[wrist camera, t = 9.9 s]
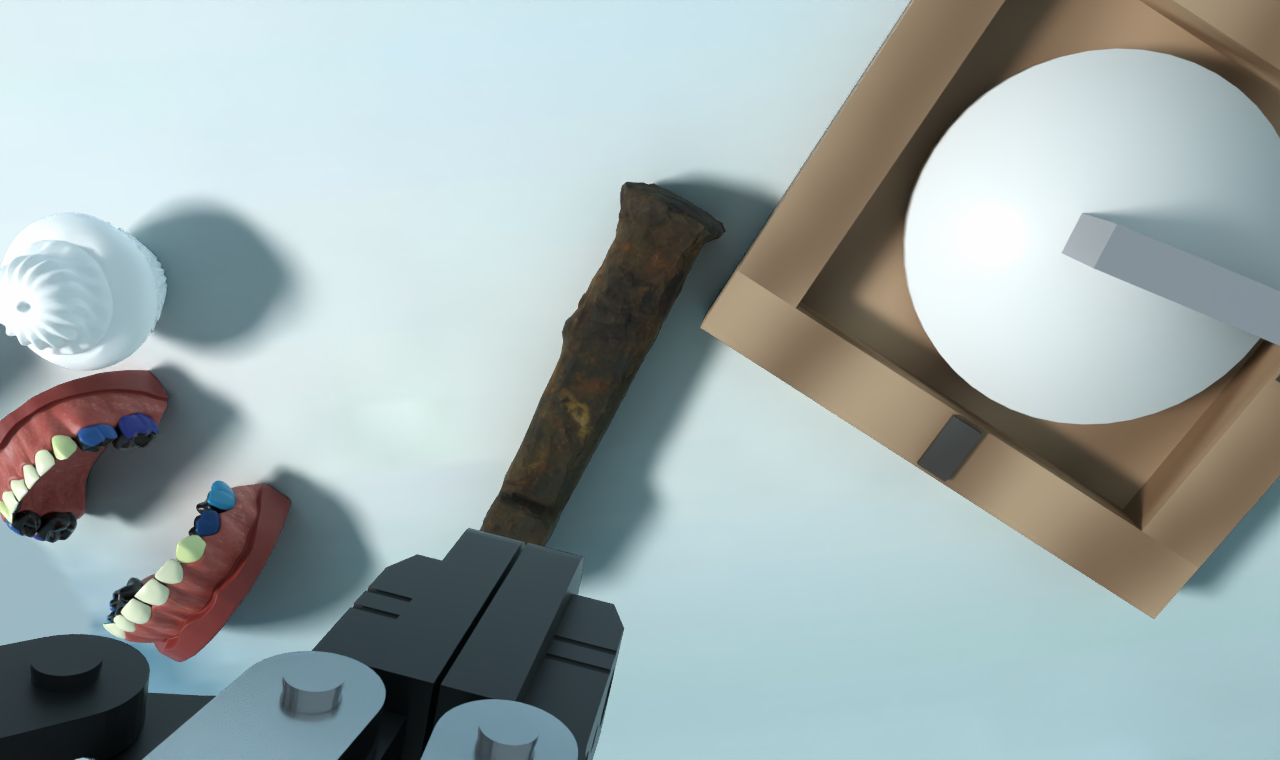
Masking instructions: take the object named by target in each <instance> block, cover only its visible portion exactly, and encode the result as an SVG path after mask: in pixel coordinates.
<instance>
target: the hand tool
mask: <svg viewBox="0 0 1280 760" xmlns="http://www.w3.org/2000/svg"><path fill="white" fill-rule="evenodd" d="M620 203H621V210H620V213H619V222H618V225H617V229H616V238H615V240H614V242H613V243H612V245H611V247H610V249H609V250H608V253H607V255H606V258H605V260H604V262H603V264H602V266H601V267H600V268H599V270H598V272H597V273H596V275H595V276H594V278H593V279H592V281H591V283H590V286H589V288H588V290H587V292H586V293H585V294H583V296H582V298H581V300H580V301H579V304H578V309H577V310H576V311H575V312H574V314H573V315H572V316H571V317H570V318H569V319H567V320H566V322H565V325H564V328H563V331H562V335H563V346H562V352H561V356H560V358H559V361H558V363H557V366H556V368H555V370H554V372H553V374H552V376H551V378H550V380H549V383H548V385H547V387H546V389H545V391H544V393H543V395H542V397H541V399H540V402H539V404H538V407H537V409H536V412H535V414H534V416H533V419H532V421H531V424H530V426H529V428H528V430H527V433H526V435H525V437H524V440H523V442H522V444H521V446H520V448H519V450H518V452H517V454H516V456H515V458H514V460H513V462H512V463H511V465H510V467H509V469H508V471H507V473H506V475H505V478H504V482H503V485H502V488H501V490H500V492H499V495H498V496H497V497H496V499H495V500H494V502H493V504H492V505H491V507H490V509H489V511H488V512H487V515H486V517H485V518H484V521H483V525H482V527H481V529H480V531H483V532H487V533H490V534H494V535H498V536H502V537H506V538H510V539H514V540H518V541H522V542H525V546H526V545H527V544H528V543H531V544H535V545H539V546H543V547H545V545H546V543H547V542H548V540H549V538H550V537H551V535H552V533H553V531H554V528H555V526H556V524H557V522H558V520H559V518H560V515H561V513H562V510H563V508H564V507H565V505H566V503H567V501H568V500H569V498H570V496H571V494H572V492H573V491H574V489H575V487H576V485H577V483H578V481H579V479H580V477H581V475H582V474H583V472H584V470H585V468H586V466H587V465H588V463H589V461H590V459H591V457H592V455H593V453H594V451H595V449H596V448H597V446H598V444H599V442H600V441H601V439H602V437H603V435H604V434H605V432H606V430H607V428H608V426H609V424H610V422H611V420H612V419H613V417H614V415H615V413H616V411H617V409H618V407H619V405H620V403H621V401H622V400H623V398H624V396H625V395H626V393H627V390H628V388H629V386H630V384H631V382H632V381H633V379H634V377H635V375H636V373H637V371H638V369H639V367H640V365H641V363H642V362H643V361H644V357H645V356H646V354H647V352H648V351H649V349H650V348H651V346H652V345H653V343H654V341H655V340H656V338H657V335H658V333H659V331H660V329H661V326H662V324H663V322H664V320H665V319H666V317H667V315H668V313H669V311H670V309H671V307H672V305H673V303H674V301H675V300H676V299H677V297H678V295H679V293H680V291H681V289H682V286H683V284H684V282H685V279H686V277H687V274H688V272H689V270H690V268H691V266H692V264H693V262H694V260H695V258H696V256H697V255H698V253H699V251H700V249H701V248H702V247H703V245H704V244H705V243H707V242H709V241H712V240H715V239H718V238H719V237H721V236H722V235H723V233H724V232H725V229H724V227H723V224H722V223H721V222H719V221H717V220H715V219H714V218H713V217H712V216H710V215H709V214H708V213H707V212H705V211H703V210H702V209H700V208H698V207H697V206H695V205H693V204H692V203H691V202H689V201H687V200H685V199H683V198H681V197H679V196H678V195H676V194H674V193H672V192H670V191H668V190H665V189H663V188H661V187H659V186H657V185H655V184H649V185H648V184H645V183H633V182H626V183H625V184H624V185H622V188H621V193H620Z"/></svg>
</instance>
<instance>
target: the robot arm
mask: <svg viewBox="0 0 1280 760" xmlns="http://www.w3.org/2000/svg"><path fill="white" fill-rule="evenodd" d="M583 565H584V557H583V556H579V555H575V554H571V553H567V552H563V551H559V550H555V549H551V548H547V547H543V546H539V545H535V544H531V543H528V544H527V545H526V546H525V542H522V541H518V540H514V539H510V538H506V537H502V536H498V535H494V534H490V533H487V532H483V531H479V530H475V529H471V528H468V529H467V530H466V531H465V532H464V533H463V535H462V536H461V537H460V539H459V540H458V541H457V542H456V544H455V545H454V546H453V548H452V549H451V550H450V551H449V553H448V554H447V555H446V557H445V558H444V559H443V560H442V561H441V560H437V559H433V558H429V557H425V556H421V555H415V556H413V557H410V558H408V559H405V560H403V561H401V562H398V563H396V564H393V565H391V566H389V567H386V568H385V569H384V571H383V572H382V573H381V574H380V575H379V576H378V577H377V578H376V580H375V581H374V582H373V583H372V584H371V585H370V586H369V588H368V591H365V592H364V593H363V594H362V595H361V596H360V597H359V598H358V600H357V601H356V602H355V603H354V606H353V608H351V607H350V609H349V610H348V611H347V612H346V613H345V614H344V615H343V616H342V617H341V619H340V620H339V621H338V622H337V623H336V624H335V625H334V626H333V628H332V629H331V630H330V631H329V632H328V633H327V634H326V635H325V636H324V638H323V639H322V640H321V641H320V642H319V643H318V644H317V645H316V646H315V648H314V649H313V650H312V651H298V652H290V653H284V654H280V655H275V656H272V657H269V658H267V659H264V660H262V661H260V662H258V663H256V664H254V665H253V666H252V667H250V668H249V669H247V670H246V671H245V672H244V673H243V674H242V675H240V676H239V677H238V678H237V679H236V680H235V681H233V682H232V683H231V684H230V685H229V686H228V687H226V688H225V689H224V690H223V691H222V692H221V693H219V694H218V695H217V696H198V695H180V694H162V693H148V683H149V673H150V669H149V664H148V662H147V660H146V658H145V657H144V656H143V655H142V654H141V653H140V652H139V651H138V650H137V649H135V648H134V647H132V646H130V645H128V644H126V643H124V642H122V641H118V640H115V639H112V638H107V637H102V636H96V635H85V634H80V635H79V634H69V635H56V636H50V637H43V638H38V639H33V640H28V641H22V642H18V643H12V644H7V645H2V646H0V760H593V756H594V753H595V750H596V746H597V743H598V740H599V736H600V733H601V728H602V724H603V719H604V715H605V711H606V706H607V702H608V697H609V693H610V688H611V684H612V680H613V675H614V671H615V666H616V662H617V657H618V653H619V649H620V644H621V640H622V635H623V631H624V627H623V624H622V622H621V620H620V617H619V615H618V613H617V610H616V608H615V606H614V604H610V603H607V602H603V601H599V600H595V599H591V598H587V597H583V596H579V595H578V591H579V586H580V582H581V577H582V571H583Z"/></svg>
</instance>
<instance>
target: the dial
mask: <svg viewBox="0 0 1280 760" xmlns="http://www.w3.org/2000/svg"><path fill="white" fill-rule="evenodd" d="M902 259H903V268H904V274H905V281H906V286H907V289H908V293H909V296H910V299H911V303H912V306H913V308H914V310H915V312H916V315H917V317H918V319H919V321H920V323H921V326H922V327H923V329H924V330H925V332H926V334H927V335H928V337H929V338H930V340H931V341H932V343H933V345H934V346H935V348H936V349H937V351H938V352H939V353H940V355H941V356H942V357H943V358H944V359H945V361H946V362H947V363H948V364H949V365H950V366H951V368H952V369H953V370H954V371H955V372H956V373H957V374H958V375H960V376H961V377H962V378H963V379H964V380H965V381H966V382H967V383H968V384H970V385H971V386H972V387H974V388H975V389H976V390H978V391H979V392H981V393H982V394H984V395H985V396H987V397H988V398H990V399H991V400H993V401H995V402H997V403H999V404H1001V405H1003V406H1005V407H1007V408H1009V409H1011V410H1014V411H1017V412H1020V413H1023V414H1026V415H1029V416H1032V417H1035V418H1039V419H1044V420H1049V421H1054V422H1059V423H1071V424H1107V423H1114V422H1120V421H1127V420H1133V419H1136V418H1140V417H1143V416H1147V415H1151V414H1154V413H1157V412H1160V411H1162V410H1165V409H1167V408H1169V407H1172V406H1174V405H1177V404H1179V403H1181V402H1183V401H1185V400H1187V399H1189V398H1190V397H1192V396H1194V395H1196V394H1198V393H1199V392H1201V391H1203V390H1204V389H1206V388H1207V387H1209V386H1210V385H1211V384H1213V383H1214V382H1216V381H1217V380H1218V379H1220V378H1221V377H1223V376H1224V375H1225V374H1226V373H1227V372H1228V371H1229V370H1230V369H1232V368H1233V367H1234V366H1235V365H1236V364H1237V363H1238V362H1239V361H1240V360H1242V359H1243V358H1244V356H1245V355H1246V354H1247V353H1248V352H1249V351H1250V349H1251V348H1252V347H1253V346H1254V345H1255V344H1256V343H1257V341H1258V340H1259V339H1260V338H1262V339H1265V340H1267V341H1269V342H1272V343H1274V344H1277V345H1279V346H1280V138H1279V136H1278V135H1277V133H1276V131H1275V129H1274V128H1273V126H1272V124H1271V123H1270V122H1269V121H1268V119H1267V118H1266V117H1265V116H1264V114H1263V113H1262V112H1261V111H1260V109H1259V108H1258V107H1257V106H1256V105H1255V104H1254V103H1253V102H1252V101H1251V100H1250V99H1249V98H1248V97H1247V96H1246V95H1245V94H1244V93H1242V92H1241V91H1240V90H1239V89H1238V88H1237V87H1235V86H1234V85H1232V84H1231V83H1229V82H1228V81H1227V80H1225V79H1224V78H1222V77H1221V76H1219V75H1218V74H1216V73H1214V72H1212V71H1210V70H1208V69H1206V68H1204V67H1202V66H1200V65H1198V64H1196V63H1194V62H1191V61H1188V60H1185V59H1182V58H1178V57H1175V56H1172V55H1169V54H1164V53H1158V52H1153V51H1147V50H1138V49H1117V48H1116V49H1104V50H1092V51H1086V52H1081V53H1077V54H1072V55H1067V56H1063V57H1058V58H1054V59H1051V60H1048V61H1045V62H1042V63H1039V64H1036V65H1034V66H1031V67H1028V68H1026V69H1024V70H1022V71H1020V72H1018V73H1016V74H1014V75H1012V76H1010V77H1007V78H1005V79H1004V80H1002V81H1001V82H999V83H998V84H996V85H994V86H993V87H991V88H990V89H988V90H987V91H985V92H984V93H982V94H981V95H980V96H979V97H978V98H976V99H975V100H974V101H973V102H972V103H971V104H969V105H968V106H967V107H966V108H965V109H963V110H962V112H961V113H960V114H959V115H958V116H957V117H956V118H955V119H954V120H953V121H952V122H951V123H950V124H949V126H948V127H947V128H946V129H945V130H944V132H943V133H942V134H941V136H940V137H939V139H938V140H937V141H936V143H935V144H934V146H933V147H932V148H931V150H930V152H929V154H928V155H927V157H926V159H925V161H924V163H923V165H922V166H921V168H920V170H919V173H918V175H917V178H916V180H915V183H914V185H913V188H912V190H911V193H910V197H909V201H908V205H907V209H906V213H905V218H904V227H903V236H902Z"/></svg>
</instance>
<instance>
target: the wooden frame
mask: <svg viewBox="0 0 1280 760" xmlns="http://www.w3.org/2000/svg"><path fill="white" fill-rule="evenodd" d="M1116 48H1117V49H1138V50H1147V51H1153V52H1158V53H1164V54H1169V55H1172V56H1175V57H1178V58H1182V59H1185V60H1188V61H1191V62H1194V63H1196V64H1198V65H1200V66H1202V67H1204V68H1206V69H1208V70H1210V71H1212V72H1214V73H1216V74H1218V75H1219V76H1221V77H1222V78H1224V79H1225V80H1227V81H1228V82H1229V83H1231V84H1232V85H1234V86H1235V87H1237V88H1238V89H1239V90H1240V91H1241V92H1242V93H1244V94H1245V95H1246V96H1247V97H1248V98H1249V99H1250V100H1251V101H1252V102H1253V103H1254V104H1255V105H1256V106H1257V107H1258V108H1259V109H1260V111H1261V112H1262V113H1263V114H1264V116H1265V117H1266V118H1267V119H1268V121H1269V122H1270V123H1271V124H1272V126H1273V128H1274V129H1275V131H1276V133H1277V135H1278V136H1279V138H1280V0H911V1H910V3H909V4H908V6H907V7H906V9H905V10H904V12H903V13H902V15H901V17H900V18H899V20H898V21H897V23H896V24H895V26H894V27H893V29H892V30H891V32H890V33H889V35H888V36H887V38H886V39H885V41H884V42H883V44H882V46H881V47H880V49H879V50H878V52H877V53H876V55H875V56H874V58H873V59H872V61H871V62H870V64H869V65H868V67H867V68H866V70H865V72H864V73H863V75H862V76H861V78H860V79H859V81H858V82H857V84H856V85H855V87H854V88H853V90H852V91H851V93H850V94H849V96H848V98H847V99H846V101H845V102H844V104H843V105H842V107H841V108H840V110H839V111H838V113H837V114H836V116H835V117H834V119H833V120H832V122H831V124H830V125H829V127H828V128H827V130H826V131H825V133H824V134H823V136H822V137H821V139H820V140H819V142H818V143H817V145H816V146H815V148H814V149H813V151H812V153H811V154H810V156H809V157H808V159H807V160H806V162H805V163H804V165H803V166H802V168H801V169H800V171H799V172H798V174H797V175H796V177H795V179H794V180H793V182H792V183H791V185H790V186H789V188H788V189H787V191H786V192H785V194H784V195H783V197H782V198H781V200H780V201H779V203H778V205H777V206H776V208H775V209H774V211H773V212H772V214H771V215H770V217H769V218H768V220H767V221H766V223H765V224H764V226H763V227H762V229H761V230H760V232H759V234H758V235H757V237H756V238H755V240H754V241H753V243H752V244H751V246H750V247H749V249H748V250H747V252H746V253H745V255H744V256H743V258H742V260H741V261H740V263H739V264H738V266H737V267H736V269H735V270H734V272H733V273H732V275H731V276H730V278H729V279H728V281H727V282H726V284H725V286H724V287H723V289H722V290H721V292H720V293H719V295H718V296H717V298H716V299H715V301H714V302H713V304H712V305H711V307H710V308H709V310H708V312H707V313H706V315H705V317H704V320H703V322H702V324H701V327H700V328H701V329H703V330H705V331H706V332H708V333H709V334H711V335H712V336H714V337H715V338H717V339H719V340H720V341H722V342H723V343H725V344H726V345H728V346H729V347H731V348H733V349H734V350H736V351H737V352H739V353H740V354H742V355H743V356H745V357H747V358H748V359H750V360H751V361H753V362H754V363H756V364H758V365H759V366H761V367H762V368H764V369H765V370H767V371H768V372H770V373H772V374H773V375H775V376H776V377H778V378H779V379H781V380H782V381H784V382H786V383H787V384H789V385H790V386H792V387H793V388H795V389H796V390H798V391H800V392H801V393H803V394H804V395H806V396H807V397H809V398H810V399H812V400H814V401H815V402H817V403H818V404H820V405H821V406H823V407H824V408H826V409H828V410H829V411H831V412H832V413H834V414H835V415H837V416H838V417H840V418H842V419H843V420H845V421H846V422H848V423H849V424H851V425H852V426H854V427H856V428H857V429H859V430H860V431H862V432H863V433H865V434H866V435H868V436H870V437H871V438H873V439H874V440H876V441H877V442H879V443H880V444H882V445H884V446H885V447H887V448H888V449H890V450H891V451H893V452H894V453H896V454H898V455H899V456H901V457H902V458H904V459H905V460H907V461H908V462H910V463H912V464H913V465H915V466H916V467H918V468H919V469H921V470H922V471H924V472H926V473H927V474H929V475H930V476H932V477H933V478H935V479H937V480H938V481H940V482H941V483H943V484H944V485H946V486H947V487H949V488H951V489H952V490H954V491H955V492H957V493H958V494H960V495H961V496H963V497H965V498H966V499H968V500H969V501H971V502H972V503H974V504H975V505H977V506H979V507H980V508H982V509H983V510H985V511H986V512H988V513H989V514H991V515H993V516H994V517H996V518H997V519H999V520H1000V521H1002V522H1003V523H1005V524H1007V525H1008V526H1010V527H1011V528H1013V529H1014V530H1016V531H1017V532H1019V533H1021V534H1022V535H1024V536H1025V537H1027V538H1028V539H1030V540H1031V541H1033V542H1035V543H1036V544H1038V545H1039V546H1041V547H1042V548H1044V549H1045V550H1047V551H1049V552H1050V553H1052V554H1053V555H1055V556H1056V557H1058V558H1059V559H1061V560H1063V561H1064V562H1066V563H1067V564H1069V565H1070V566H1072V567H1073V568H1075V569H1077V570H1078V571H1080V572H1081V573H1083V574H1084V575H1086V576H1087V577H1089V578H1091V579H1092V580H1094V581H1095V582H1097V583H1098V584H1100V585H1101V586H1103V587H1105V588H1106V589H1108V590H1109V591H1111V592H1112V593H1114V594H1116V595H1117V596H1119V597H1120V598H1122V599H1123V600H1125V601H1126V602H1128V603H1130V604H1131V605H1133V606H1134V607H1136V608H1137V609H1139V610H1140V611H1142V612H1144V613H1145V614H1147V615H1148V616H1150V617H1151V618H1153V619H1155V618H1156V617H1157V615H1158V614H1159V613H1160V612H1161V611H1162V610H1163V609H1164V607H1165V606H1166V605H1167V604H1168V603H1169V602H1170V601H1171V599H1172V598H1173V597H1174V596H1175V595H1176V594H1177V593H1178V591H1179V590H1180V589H1181V588H1182V587H1183V586H1184V585H1185V583H1186V582H1187V581H1188V580H1189V579H1190V578H1191V577H1192V575H1193V574H1194V573H1195V572H1196V571H1197V570H1198V569H1199V567H1200V566H1201V565H1202V564H1203V563H1204V562H1205V561H1206V559H1207V558H1208V557H1209V556H1210V555H1211V554H1212V553H1213V551H1214V550H1215V549H1216V548H1217V547H1218V546H1219V545H1220V543H1221V542H1222V541H1223V540H1224V539H1225V538H1226V537H1227V535H1228V534H1229V533H1230V532H1231V531H1232V530H1233V529H1234V527H1235V526H1236V525H1237V524H1238V523H1239V522H1240V521H1241V519H1242V518H1243V517H1244V516H1245V515H1246V514H1247V513H1248V512H1249V510H1250V509H1251V508H1252V507H1253V506H1254V505H1255V504H1256V502H1257V501H1258V500H1259V499H1260V498H1261V497H1262V496H1263V494H1264V493H1265V492H1266V491H1267V490H1268V489H1269V488H1270V486H1271V485H1272V484H1273V483H1274V482H1275V481H1276V480H1277V478H1278V477H1279V476H1280V346H1279V345H1277V344H1274V343H1272V342H1269V341H1267V340H1265V339H1262V338H1260V339H1259V340H1258V341H1257V343H1256V344H1255V345H1254V346H1253V347H1252V348H1251V349H1250V351H1249V352H1248V353H1247V354H1246V355H1245V356H1244V358H1243V359H1242V360H1240V361H1239V362H1238V363H1237V364H1236V365H1235V366H1234V367H1233V368H1232V369H1230V370H1229V371H1228V372H1227V373H1226V374H1225V375H1224V376H1223V377H1221V378H1220V379H1218V380H1217V381H1216V382H1214V383H1213V384H1211V385H1210V386H1209V387H1207V388H1206V389H1204V390H1203V391H1201V392H1199V393H1198V394H1196V395H1194V396H1192V397H1190V398H1189V399H1187V400H1185V401H1183V402H1181V403H1179V404H1177V405H1174V406H1172V407H1169V408H1167V409H1165V410H1162V411H1160V412H1157V413H1154V414H1151V415H1147V416H1143V417H1140V418H1136V419H1133V420H1127V421H1120V422H1114V423H1107V424H1071V423H1059V422H1054V421H1049V420H1044V419H1039V418H1035V417H1032V416H1029V415H1026V414H1023V413H1020V412H1017V411H1014V410H1011V409H1009V408H1007V407H1005V406H1003V405H1001V404H999V403H997V402H995V401H993V400H991V399H990V398H988V397H987V396H985V395H984V394H982V393H981V392H979V391H978V390H976V389H975V388H974V387H972V386H971V385H970V384H968V383H967V382H966V381H965V380H964V379H963V378H962V377H961V376H960V375H958V374H957V373H956V372H955V371H954V370H953V369H952V368H951V366H950V365H949V364H948V363H947V362H946V361H945V359H944V358H943V357H942V356H941V355H940V353H939V352H938V351H937V349H936V348H935V346H934V345H933V343H932V341H931V340H930V338H929V337H928V335H927V334H926V332H925V330H924V329H923V327H922V326H921V323H920V321H919V319H918V317H917V315H916V312H915V310H914V308H913V306H912V303H911V299H910V296H909V293H908V289H907V286H906V281H905V274H904V268H903V259H902V236H903V227H904V218H905V213H906V209H907V205H908V201H909V197H910V193H911V190H912V188H913V185H914V183H915V180H916V178H917V175H918V173H919V170H920V168H921V166H922V165H923V163H924V161H925V159H926V157H927V155H928V154H929V152H930V150H931V148H932V147H933V146H934V144H935V143H936V141H937V140H938V139H939V137H940V136H941V134H942V133H943V132H944V130H945V129H946V128H947V127H948V126H949V124H950V123H951V122H952V121H953V120H954V119H955V118H956V117H957V116H958V115H959V114H960V113H961V112H962V110H963V109H965V108H966V107H967V106H968V105H969V104H971V103H972V102H973V101H974V100H975V99H976V98H978V97H979V96H980V95H981V94H982V93H984V92H985V91H987V90H988V89H990V88H991V87H993V86H994V85H996V84H998V83H999V82H1001V81H1002V80H1004V79H1005V78H1007V77H1010V76H1012V75H1014V74H1016V73H1018V72H1020V71H1022V70H1024V69H1026V68H1028V67H1031V66H1034V65H1036V64H1039V63H1042V62H1045V61H1048V60H1051V59H1054V58H1058V57H1063V56H1067V55H1072V54H1077V53H1081V52H1086V51H1092V50H1104V49H1116Z"/></svg>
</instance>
